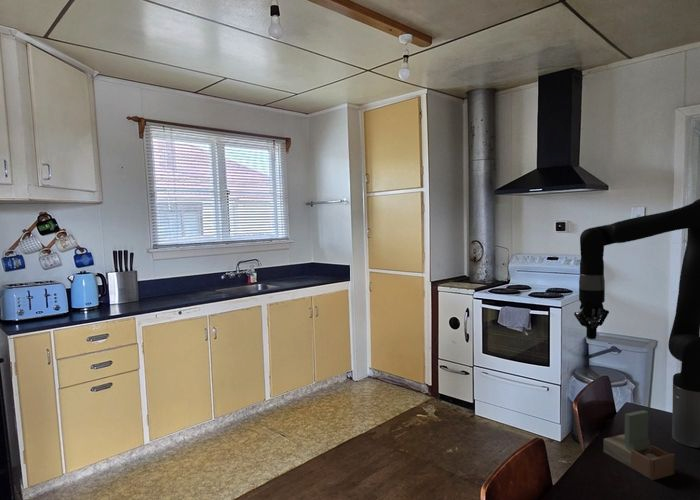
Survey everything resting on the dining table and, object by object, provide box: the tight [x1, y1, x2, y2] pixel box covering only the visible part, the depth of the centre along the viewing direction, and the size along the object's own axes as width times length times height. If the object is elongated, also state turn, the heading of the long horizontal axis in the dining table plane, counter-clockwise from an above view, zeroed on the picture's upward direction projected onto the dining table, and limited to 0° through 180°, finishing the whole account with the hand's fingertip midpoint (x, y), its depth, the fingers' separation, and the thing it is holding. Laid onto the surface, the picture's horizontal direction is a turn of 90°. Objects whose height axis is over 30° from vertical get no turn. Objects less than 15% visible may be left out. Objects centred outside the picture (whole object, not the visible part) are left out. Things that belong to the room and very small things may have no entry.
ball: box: [644, 454, 657, 459], centre depth 119 cm, size 4×4×4 cm
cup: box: [630, 444, 676, 481], centre depth 119 cm, size 8×6×6 cm
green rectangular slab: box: [624, 409, 651, 452], centre depth 123 cm, size 7×2×10 cm, turn 107°
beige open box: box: [602, 433, 651, 468], centre depth 126 cm, size 8×9×4 cm
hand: (591, 338), depth 147 cm, fingers closed
